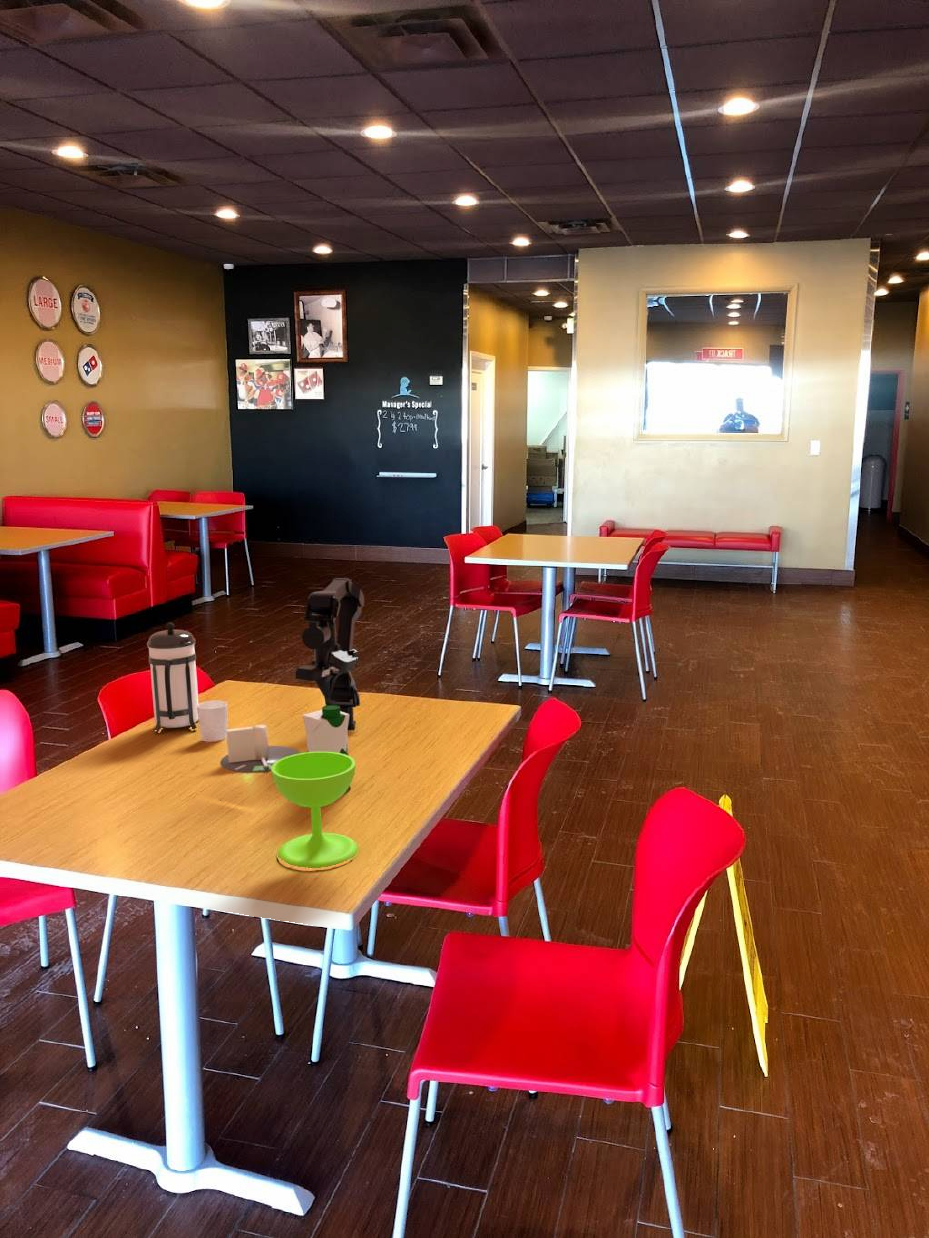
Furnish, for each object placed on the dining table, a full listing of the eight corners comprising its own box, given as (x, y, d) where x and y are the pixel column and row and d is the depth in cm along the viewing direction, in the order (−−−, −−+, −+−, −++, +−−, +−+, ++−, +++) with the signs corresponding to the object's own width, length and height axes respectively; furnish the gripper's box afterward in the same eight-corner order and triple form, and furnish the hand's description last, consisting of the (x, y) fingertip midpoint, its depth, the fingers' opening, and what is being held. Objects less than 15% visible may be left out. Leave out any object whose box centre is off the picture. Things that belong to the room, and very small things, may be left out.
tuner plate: (318, 756, 242) (318, 752, 242) (264, 781, 226) (264, 777, 225) (259, 744, 252) (259, 740, 252) (203, 767, 236) (202, 763, 235)
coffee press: (136, 729, 267) (127, 624, 261) (185, 716, 279) (178, 615, 273) (171, 741, 256) (162, 631, 250) (221, 727, 268) (214, 622, 262)
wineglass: (262, 849, 188) (257, 762, 185) (335, 829, 197) (331, 746, 194) (298, 879, 176) (293, 786, 172) (374, 856, 185) (370, 767, 181)
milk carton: (325, 799, 214) (321, 713, 210) (301, 789, 220) (297, 705, 216) (356, 789, 220) (353, 705, 216) (332, 779, 226) (328, 697, 222)
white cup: (193, 743, 254) (190, 707, 253) (211, 734, 262) (208, 699, 260) (217, 746, 252) (215, 709, 250) (235, 737, 259) (233, 701, 257)
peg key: (267, 754, 241) (266, 723, 240) (274, 769, 230) (272, 737, 229) (228, 759, 238) (225, 728, 236) (233, 774, 227) (230, 742, 226)
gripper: (326, 651, 236) (329, 712, 239) (371, 636, 251) (373, 694, 254) (291, 646, 241) (295, 706, 244) (338, 632, 257) (340, 689, 260)
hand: (327, 698), depth 251 cm, fingers closed
